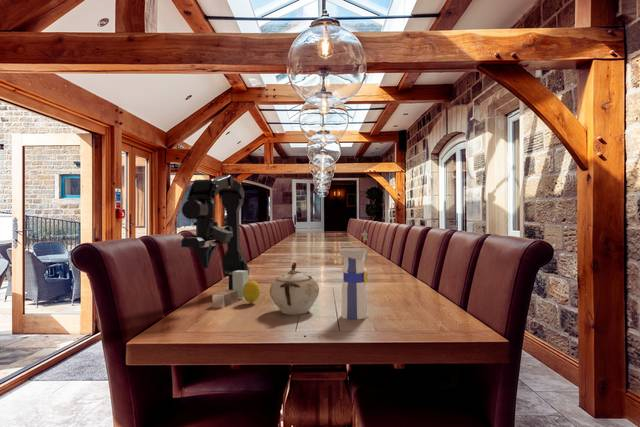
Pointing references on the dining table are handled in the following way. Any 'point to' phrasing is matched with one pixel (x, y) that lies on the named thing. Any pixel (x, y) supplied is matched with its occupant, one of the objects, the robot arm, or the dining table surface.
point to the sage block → (240, 281)
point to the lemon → (251, 291)
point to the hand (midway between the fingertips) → (205, 268)
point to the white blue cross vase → (354, 283)
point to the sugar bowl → (294, 292)
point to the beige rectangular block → (225, 298)
